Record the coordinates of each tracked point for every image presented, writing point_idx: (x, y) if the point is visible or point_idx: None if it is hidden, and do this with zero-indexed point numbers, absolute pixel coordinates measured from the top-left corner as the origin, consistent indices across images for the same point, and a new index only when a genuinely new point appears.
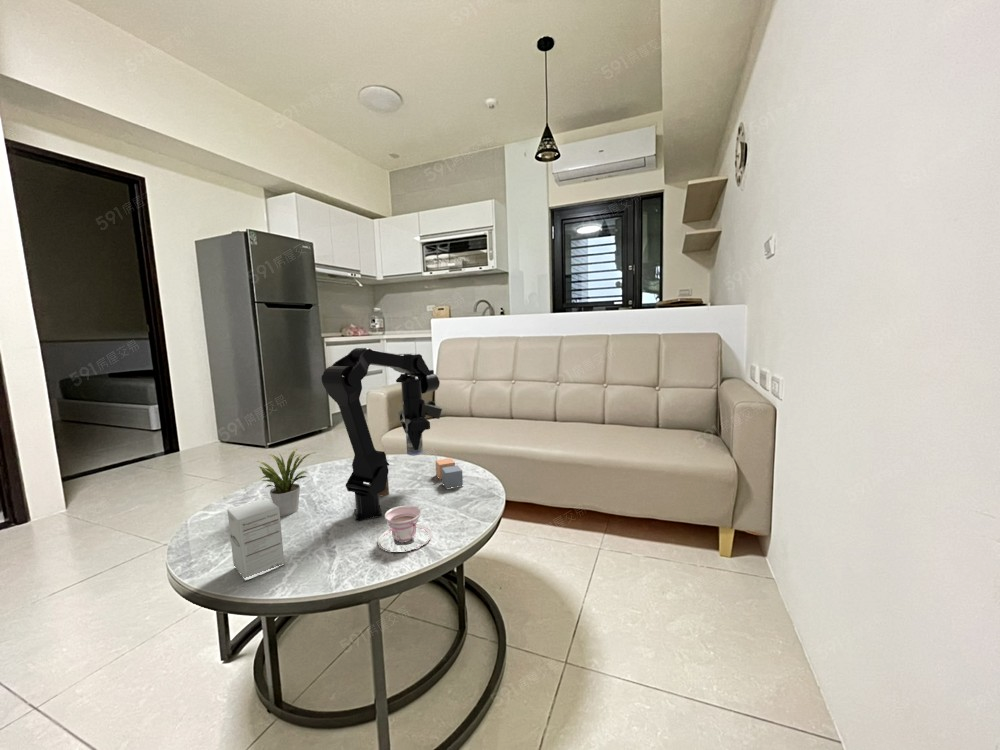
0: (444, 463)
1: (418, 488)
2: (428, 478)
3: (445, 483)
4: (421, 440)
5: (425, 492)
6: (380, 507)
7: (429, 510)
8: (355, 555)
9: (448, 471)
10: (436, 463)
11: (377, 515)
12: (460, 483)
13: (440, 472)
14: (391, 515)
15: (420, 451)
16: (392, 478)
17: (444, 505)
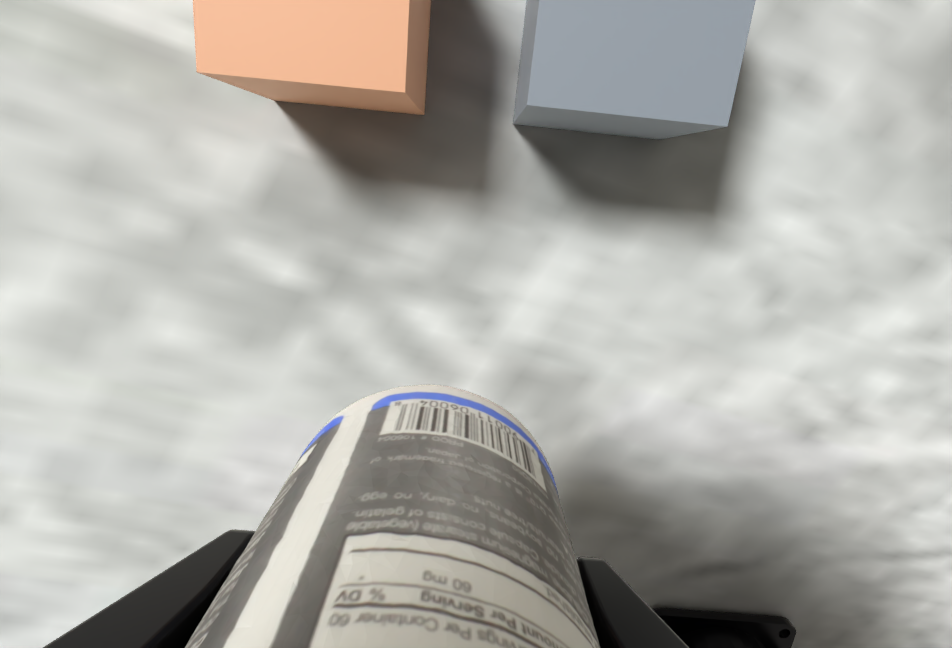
0: (383, 6)
1: (505, 335)
2: (330, 197)
3: (640, 132)
4: (551, 596)
5: (613, 312)
6: (701, 619)
7: (914, 377)
8: None
9: (694, 74)
10: (256, 81)
11: (790, 646)
12: None
13: (417, 96)
14: None
15: (548, 473)
16: (193, 450)
17: (922, 265)
